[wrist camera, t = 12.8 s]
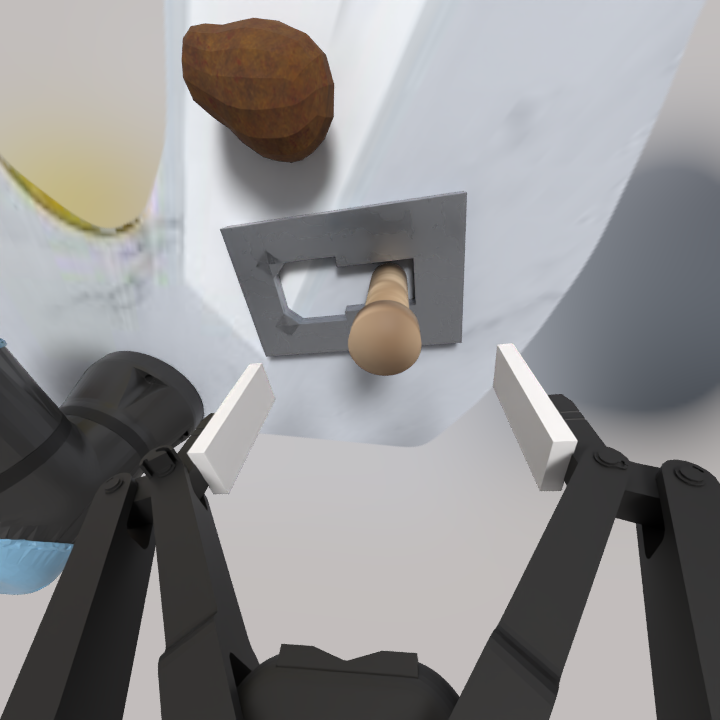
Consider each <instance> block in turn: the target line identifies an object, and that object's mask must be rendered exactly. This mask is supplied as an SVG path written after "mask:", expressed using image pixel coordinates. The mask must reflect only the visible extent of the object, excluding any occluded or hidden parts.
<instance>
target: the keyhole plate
mask: <svg viewBox="0 0 720 720" xmlns="http://www.w3.org/2000/svg"><path fill="white" fill-rule="evenodd" d="M466 203H467V192H464V191H461V192H454V193H448V194H441V195H434V196H427V197H421V198H414V199H407V200H401V201H394V202H387V203H381V204H374V205H367V206H361V207H354V208H347V209H341V210H334V211H327V212H321V213H314V214H307V215H301V216H294V217H287V218H281V219H274V220H267V221H260V222H254V223H247V224H240V225H234V226H227V227H225V228H222V229H220V231H221V233H222V236H223V239H224V242H225V244H226V247H227V250H228V253H229V256H230V258H231V261H232V264H233V267H234V269H235V272H236V275H237V278H238V280H239V283H240V286H241V289H242V291H243V294H244V297H245V300H246V303H247V305H248V308H249V311H250V314H251V316H252V319H253V322H254V325H255V327H256V330H257V333H258V336H259V339H260V341H261V344H262V347H263V350H264V352H265V355H266V357H267V356H281V355H295V354H309V353H323V352H337V351H349V348H348V339H349V334H350V331H351V327H352V324H353V321H354V318H355V316H356V315H357V313H358V312H359V311H360V310H361V309H362V308H363V307H364V306H365V304H361V305H350V306H347V308H346V311H345V313H346V315H336V316H325V317H314V318H302V317H301V316H299V315H298V314H296V313H295V312H293V311H292V310H290V309H289V308H288V306H287V302H286V299H285V295H284V292H283V288H282V285H281V282H280V278H279V275H278V274H279V272H280V271H281V269H282V267H283V266H284V264H285V263H286V262H294V261H302V260H310V259H319V258H327V257H335V258H336V264H337V267H342V266H351V265H359V264H368V263H376V262H384V261H393V260H401V259H410V258H413V265H414V284H415V299H413V300H409V309H410V310H411V311H412V312H413V313H414V314H415V316H416V318H417V320H418V323H419V328H420V336H421V345H435V344H449V343H462V315H463V287H464V259H465V231H466Z"/></svg>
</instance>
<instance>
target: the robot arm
mask: <svg viewBox="0 0 720 720" xmlns="http://www.w3.org/2000/svg"><path fill="white" fill-rule="evenodd" d="M6 345H7V343H6V342H5V340H3V339H1V338H0V594H13V595H16V594H17V595H19V594H28V593H33V592H35V591H38V590H40V589H42V588H44V587H46V586H47V585H49V584H50V583H51V582H53V581H54V580H55V579H56V578H57V577H58V575H59V574H60V573H61V572H62V571H63V572H62V574H61V577H60V579H59V581H58V584H57V586H56V588H55V591H54V593H53V595H52V598H51V600H50V602H49V605H48V607H47V610H46V612H45V614H44V617H43V619H42V622H41V624H40V626H39V629H38V631H37V633H36V636H35V638H34V641H33V643H32V645H31V647H30V650H29V652H28V654H27V657H26V659H25V662H24V664H23V666H22V669H21V671H20V674H19V676H18V678H17V681H16V683H15V685H14V688H13V690H12V692H11V695H10V697H9V700H8V702H7V704H6V707H5V709H4V712H3V714H2V716H1V719H0V720H122V718H123V713H124V708H125V702H126V697H127V692H128V687H129V682H130V677H131V671H132V666H133V661H134V656H135V651H136V645H137V640H138V635H139V630H140V625H141V619H142V613H143V609H144V603H145V598H146V593H147V588H148V582H149V577H150V572H151V566H152V562H153V557H154V551H155V546H156V552H157V562H158V570H159V571H158V572H159V581H160V592H161V602H162V612H163V621H164V631H165V641H166V650H165V652H164V653H163V654H162V655H161V656H160V658H159V662H158V678H159V690H160V703H161V716H162V720H549V718H550V715H551V712H552V709H553V706H554V703H555V700H556V697H557V693H558V689H559V682H560V678H561V675H562V672H563V669H564V666H565V663H566V660H567V657H568V654H569V651H570V648H571V645H572V642H573V640H574V637H575V633H576V631H577V628H578V625H579V622H580V619H581V616H582V613H583V610H584V607H585V605H586V601H587V599H588V596H589V593H590V590H591V587H592V584H593V581H594V578H595V575H596V572H597V570H598V567H599V564H600V561H601V558H602V555H603V552H604V549H605V546H606V543H607V540H608V537H609V535H610V531H611V529H612V525H613V523H614V520H615V518H619V519H622V520H626V521H630V522H633V523H636V529H637V538H638V548H639V557H640V566H641V575H642V584H643V594H644V603H645V612H646V621H647V631H648V640H649V649H650V659H651V668H652V677H653V687H654V696H655V705H656V714H657V720H720V483H719V482H718V481H717V479H716V477H714V476H713V475H712V474H711V473H710V472H708V471H707V470H705V469H703V468H701V467H700V466H698V465H696V464H693V463H690V462H687V461H682V460H668V461H666V462H665V463H663V464H662V466H661V468H658V467H653V466H648V465H643V464H638V463H634V462H631V461H629V460H628V458H627V457H625V456H624V455H623V454H622V453H621V452H619V451H617V450H615V449H613V448H610V447H606V446H605V444H604V443H603V442H602V440H601V439H600V438H599V436H598V435H597V434H596V432H595V431H594V430H593V428H592V427H591V426H590V424H589V423H588V422H587V420H585V418H584V416H583V415H582V414H581V413H580V412H579V410H578V409H577V407H576V406H575V404H574V403H573V402H572V401H571V400H569V399H568V398H566V397H565V396H563V395H562V394H555V395H547V394H546V393H545V391H544V390H543V388H542V387H541V385H540V383H539V382H538V380H537V379H536V377H535V376H534V375H533V373H532V371H531V370H530V368H529V367H528V366H527V364H526V362H525V361H524V359H523V358H522V356H521V355H520V353H519V352H518V350H517V349H516V347H515V346H514V344H513V343H512V344H499V345H497V353H496V362H495V372H494V381H493V388H494V390H495V392H496V394H497V397H498V399H499V401H500V403H501V406H502V408H503V410H504V412H505V415H506V417H507V419H508V421H509V423H510V426H511V428H512V430H513V432H514V434H515V437H516V439H517V441H518V443H519V446H520V448H521V450H522V452H523V455H524V457H525V459H526V461H527V463H528V465H529V468H530V470H531V472H532V475H533V477H534V479H535V481H536V484H537V485H538V488H539V490H540V491H561V490H562V487H563V484H564V481H565V483H566V485H567V487H566V489H565V491H564V493H563V495H562V497H561V499H560V501H559V503H558V505H557V507H556V509H555V511H554V513H553V515H552V517H551V519H550V521H549V523H548V525H547V527H546V529H545V531H544V533H543V535H542V538H541V539H540V541H539V543H538V546H537V548H536V550H535V551H534V554H533V556H532V558H531V560H530V562H529V564H528V566H527V568H526V570H525V572H524V574H523V576H522V578H521V580H520V582H519V584H518V586H517V588H516V590H515V592H514V594H513V596H512V598H511V600H510V602H509V604H508V606H507V608H506V610H505V612H504V614H503V616H502V618H501V620H500V622H499V624H498V626H497V627H496V629H495V630H494V631H493V633H492V634H491V636H490V638H489V640H488V642H487V644H486V646H485V647H484V649H483V652H482V654H481V655H480V658H479V659H478V661H477V663H476V665H475V667H474V670H473V671H472V673H471V675H470V677H469V680H468V682H467V683H466V685H465V688H464V690H463V691H462V693H461V696H460V697H459V696H458V694H457V693H456V692H455V690H454V689H453V688H452V687H451V686H450V685H449V683H448V682H447V681H445V679H444V678H442V677H441V676H440V675H439V674H438V673H436V672H435V671H433V670H432V669H430V668H429V667H427V666H425V665H423V664H421V663H419V662H418V658H417V653H405V652H392V651H380V652H376V653H373V654H370V655H366V656H362V657H359V658H355V659H352V660H348V661H345V660H342V659H340V658H338V657H335V656H333V655H331V654H329V653H327V652H325V651H322V650H320V649H318V648H316V647H314V646H304V645H289V644H281V648H280V653H279V654H278V655H276V656H274V657H272V658H269V659H268V660H266V661H265V662H263V663H262V664H260V665H259V662H258V660H257V658H256V655H255V653H254V652H253V650H252V648H251V645H250V642H249V639H248V636H247V632H246V630H245V626H244V622H243V619H242V616H241V612H240V609H239V605H238V602H237V598H236V595H235V592H234V588H233V585H232V581H231V578H230V575H229V571H228V568H227V564H226V561H225V558H224V554H223V551H222V547H221V544H220V541H219V537H218V534H217V530H216V527H215V524H214V520H213V517H212V513H211V510H210V506H209V503H208V500H207V497H206V496H205V494H204V493H205V491H206V489H207V487H208V486H209V488H210V489H211V491H212V492H213V494H229V493H230V491H231V489H232V487H233V485H234V483H235V481H236V479H237V477H238V475H239V472H240V470H241V469H242V466H243V464H244V462H245V460H246V458H247V456H248V454H249V452H250V450H251V448H252V446H253V444H254V442H255V439H256V438H257V436H258V434H259V432H260V430H261V428H262V426H263V424H264V422H265V420H266V417H267V415H268V413H269V411H270V409H271V407H272V405H273V403H274V401H275V396H274V394H273V391H272V388H271V386H270V383H269V380H268V378H267V375H266V372H265V370H264V367H263V364H262V363H255V364H249V366H248V367H247V369H246V370H245V371H244V373H243V374H242V376H241V377H240V379H239V380H238V381H237V383H236V384H235V386H234V387H233V388H232V390H231V391H230V393H229V394H228V396H227V397H226V398H225V400H224V401H223V403H222V404H221V406H220V407H219V408H218V410H217V411H216V413H210V414H209V415H208V416H207V417H205V418H204V419H203V420H202V417H203V406H202V402H201V399H200V397H199V395H198V393H197V391H196V390H195V388H194V387H193V386H192V384H191V383H190V382H189V381H188V380H187V379H186V378H185V377H184V376H183V375H182V374H181V373H179V372H178V371H177V370H176V369H174V368H173V367H171V366H170V365H168V364H166V363H165V362H163V361H161V360H159V359H156V358H154V357H152V356H149V355H146V354H142V353H138V352H131V351H119V352H114V353H110V354H108V355H106V356H104V357H103V358H101V359H100V360H99V361H97V362H96V363H94V364H93V365H91V366H90V367H89V368H88V369H87V370H86V372H85V373H84V375H83V376H82V378H81V379H80V380H79V382H78V383H77V384H76V386H75V387H74V389H73V390H72V392H71V393H70V395H69V396H68V397H67V399H66V400H65V402H64V403H63V405H62V406H61V407H59V408H58V407H57V406H56V404H55V403H54V402H53V401H52V400H51V399H50V398H49V397H48V396H47V394H46V393H45V392H44V391H43V390H42V389H41V388H40V387H39V385H38V384H37V383H36V382H35V381H34V380H33V378H32V377H31V376H30V375H29V374H28V372H27V371H26V370H25V369H24V368H23V367H22V365H21V364H20V363H19V362H18V361H17V360H16V358H15V357H14V356H13V355H12V354H11V353H10V351H9V350H8V349H7V348H6V347H5V346H6ZM201 420H202V421H201ZM195 429H196V430H195ZM190 435H191V436H190ZM189 436H190V437H189ZM188 437H189V439H188V440H187V441H186V443H185V444H184V446H183V447H182V448H181V450H180V451H179V452H178V454H177V453H176V452H175V450H174V447H176V446H177V445H179V444H180V443H181V442H183V441H185V440H186V439H187V438H188ZM143 473H145V474H146V476H143V477H141V475H142V474H143Z"/></svg>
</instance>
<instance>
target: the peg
mask: <svg viewBox="0 0 720 720" xmlns="http://www.w3.org/2000/svg"><path fill="white" fill-rule="evenodd" d="M348 348H349V352H350V355H351V357H352V359H353V360H354V361H355V363H356V364H357V365H358V366H359V367H361V368H362V369H364V370H365V371H367V372H369V373H372V374H376V375H382V376H388V375H395V374H398V373H401V372H403V371H405V370H407V369H408V368H410V367H411V366H412V365H413V364H414V363H415V362H416V360H417V359H418V357H419V354H420V351H421V336H420V328H419V323H418V320H417V318H416V316H415V314H414V313H413V312H412V311H411V310H410V309H409V300H408V287H407V276H406V273H405V271H404V270H403V269H402V268H401V267H400V266H399V265H397V264H394V263H385V264H382V265H380V266H378V267H377V268H376V269H375V271H374V272H373V274H372V277H371V282H370V286H369V291H368V295H367V300H366V304H365V306H364V307H363V308H362V309H361V310H360V311H359V312H358V313H357V315H356V316H355V318H354V321H353V324H352V327H351V331H350V334H349V339H348Z"/></svg>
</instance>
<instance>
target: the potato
mask: <svg viewBox="0 0 720 720" xmlns="http://www.w3.org/2000/svg"><path fill="white" fill-rule="evenodd" d="M182 69H183V78H184V81H185V83H186V85H187V87H188V89H189V91H190V94H191V96H192V98H193V100H194V101H195V102H196V103H197V104H198V105H200V106H201V107H202V108H203V109H204V110H205V111H206V112H208V113H209V114H210V115H211V116H212V117H214V118H215V119H216V120H218V121H219V122H220V123H222V124H223V125H225V126H226V127H228V128H229V129H230V130H231V131H232V132H233V133H234V134H235V135H236V136H237V137H238V138H239V139H240V140H241V141H242V142H243V143H244V144H246V145H247V146H248V147H250V148H251V149H253V150H254V151H256V152H257V153H258V154H260V155H261V156H263V157H265V158H269V159H272V160H276V161H283V162H291V163H292V162H296V161H300V160H303V159H304V158H306V157H307V156H309V155H310V154H312V153H313V152H314V151H315V150H316V149H317V147H318V146H319V145H320V144H321V143H322V141H323V140H324V139H325V136H326V134H327V132H328V129H329V127H330V124H331V122H332V120H333V117H334V82H333V79H332V75H331V71H330V68H329V64H328V61H327V57H326V54H325V53H324V52H323V51H322V50H321V49H320V48H319V47H318V46H317V45H316V43H315V42H314V41H313V40H312V39H311V38H310V37H309V36H308V35H307V34H306V33H304V32H302V31H299V30H297V29H295V28H293V27H290V26H288V25H286V24H284V23H282V22H280V21H276V20H267V19H259V18H250V19H246V20H241V21H237V22H232V23H228V24H224V25H218V24H200V25H195V26H191V27H190V29H189V30H188V32H187V33H186V35H185V36H184V38H183V47H182Z"/></svg>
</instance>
